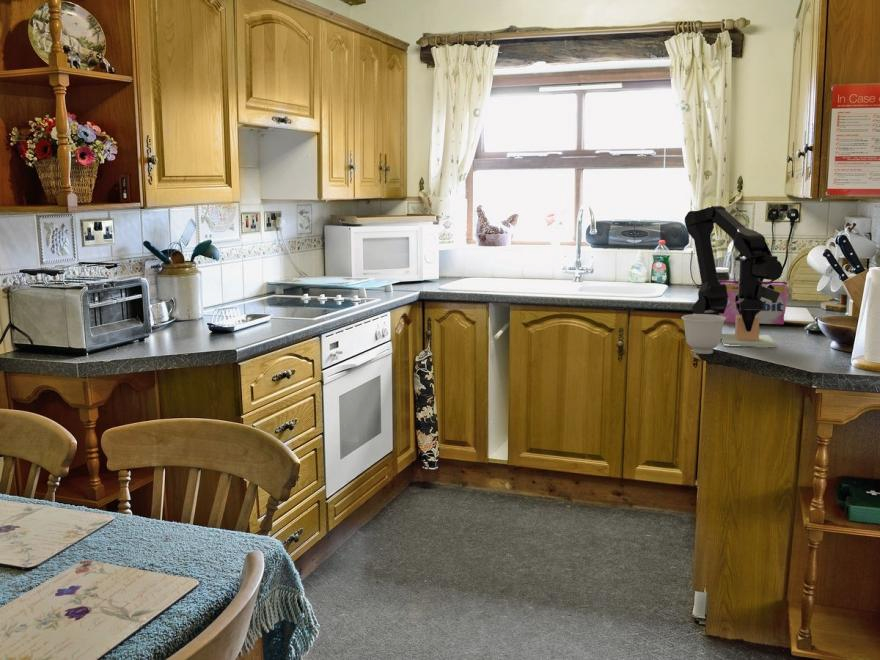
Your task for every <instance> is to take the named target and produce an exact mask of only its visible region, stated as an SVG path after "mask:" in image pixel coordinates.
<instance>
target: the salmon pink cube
mask: <svg viewBox="0 0 880 660" xmlns="http://www.w3.org/2000/svg"><path fill="white" fill-rule="evenodd" d="M734 328H735V329H734V330H735V337H736V339H737V340H759V335H760V323H759V317H758V316H757V315H756V316H755V319H754V322H753V325H752V329H751V331H750V332H748V331H746V328H745V325H744V322H743V319H742V316H741V315H736V318H735V325H734Z"/></svg>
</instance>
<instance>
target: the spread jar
mask: <svg viewBox="0 0 880 660" xmlns="http://www.w3.org/2000/svg"><path fill="white" fill-rule="evenodd" d="M729 269H730V268H729V267H716V272H717V278H718V281H731V279H730V273H729V271H730V270H729Z"/></svg>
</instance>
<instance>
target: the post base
mask: <svg viewBox="0 0 880 660" xmlns="http://www.w3.org/2000/svg"><path fill="white" fill-rule="evenodd" d="M721 339H722V341H723V343H724V344H729V345H740V346H756V347H755V348H768V347H774V348H776V345H777V344H776V343H775V341H774V340H773V339H772V337H771V336H770V335H769V334H759V340H737V339H736V337H735V334H733V333H721ZM721 339H720V340H721ZM722 341H721V342H722ZM723 343H722V344H723Z"/></svg>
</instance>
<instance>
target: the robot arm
mask: <svg viewBox="0 0 880 660" xmlns="http://www.w3.org/2000/svg"><path fill="white" fill-rule="evenodd" d="M715 224H716V225H717V227H719V228H720V229H721V230H722V231H723V232H724V233H725V234H727V236H729V237H730V238H731V239H732V244H733V246H734V248H735V249H736V251H737V252H738V253H739V254H738V255H737V256H735V258H734V260H735V261H736V262H739V276H738V277H739V278H738V280H737V281H738V283H739V292H737V293H736V294H735V296H734V301H735V302H737V301H738V303H735V304H736V307H737V309H738V312H739V315H741V316H742V319H743V322H744V325H745V328H746V331H748V332H750V331H751V329H752V325H753V322H754V319H755V316H756V314H757V313H759V312H760V311H761V310H763V308H764V303H763V302H762V301H761V300H760V299H761V297H763V298H766V299H768V300H771V301H772V302H775V303H776V302H777V300H778V298H779V295H780V292H779V291H777V290H774V286H773V285H770V284H768V285H767V286H766V287H765V286H762V282H761V279H762V280H767V281H777V280H779V279H780V278H781V276H782V274H783V273H784V272H783V271H784V267H783V264H782V263H781V261H779V260H778V256H777V255H772V251H771V250H770V248H769V246H768V244H767V241H766V238H765V236H764V234H762V233H761V232H757V230H753V229H750V228H747V227H746V226H744V225H743V224H742V223H741V222H740V221H738V219H736V218H735V217H734V216H733V215H732V214H731V213H730V212H728V211H727V210H726V207H724V206H722V205H710V206H708V207H705V208H702V209H699V210H690V211H688V212H687V213H686V215H685V217H684V225H685V227H686V228H685V229H686V230H687V231H686V232H687V234H689V235H690V237H691V238H692V239H693V242H694V249H695V253H696V258H697V264H698V268H699V276H700V280H701V281H700V283H701V284H700V286H699V289H698V292H697V293H698V294H697V297H698V298H697V300H696V302H694V304H693V305H692V306H691V310H692V314H711V315H719V314H724V312H725V309H726V306H727V303H728V298H727V297H729V296H728V294H727V287H726V285H721V284H720V282H719V281H718V278H717V272H716V268H717V267H716V262H715V256H714V251H713V245H712V239H711V236H712V234H713V233H712V232H713V231H714V227H715Z"/></svg>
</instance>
